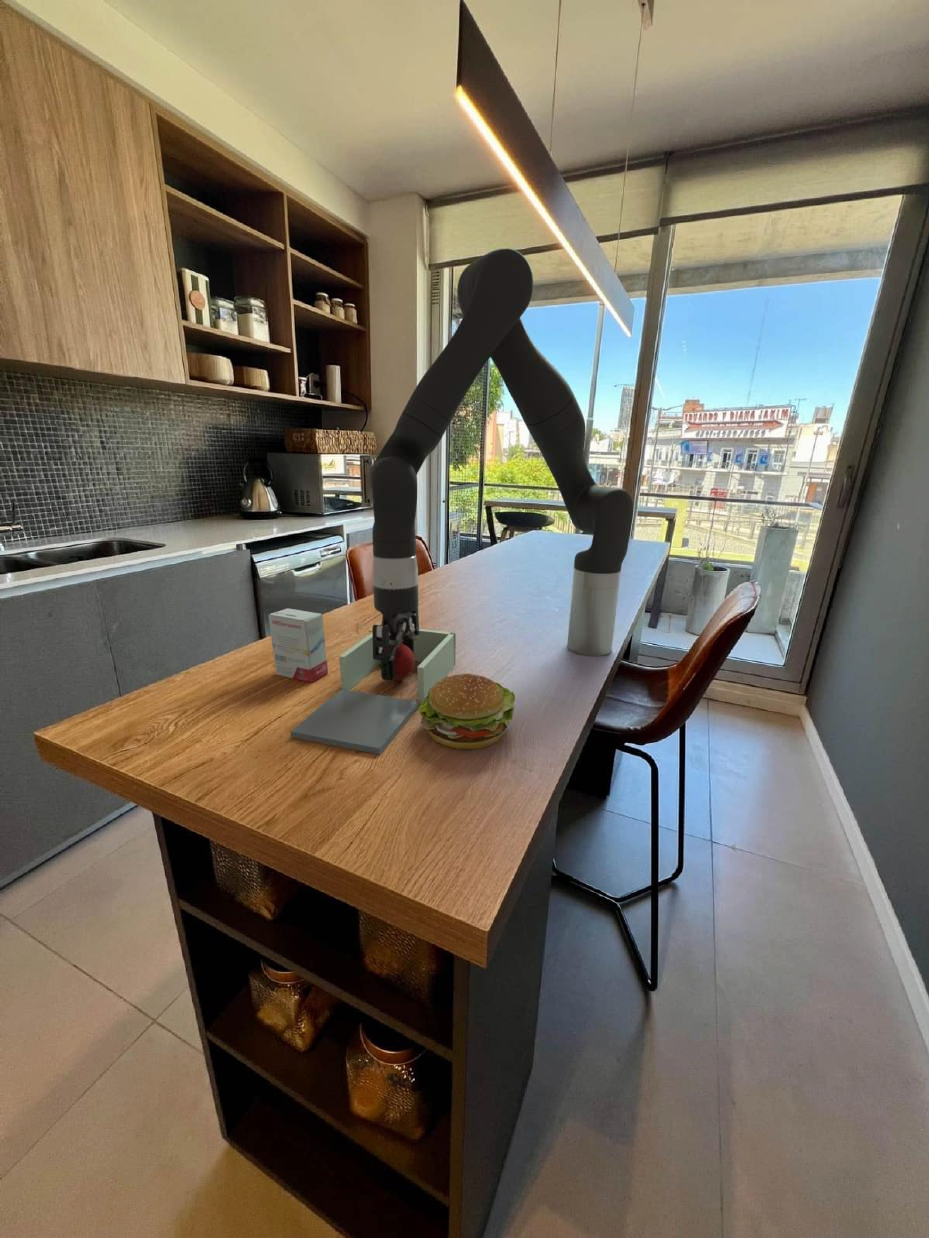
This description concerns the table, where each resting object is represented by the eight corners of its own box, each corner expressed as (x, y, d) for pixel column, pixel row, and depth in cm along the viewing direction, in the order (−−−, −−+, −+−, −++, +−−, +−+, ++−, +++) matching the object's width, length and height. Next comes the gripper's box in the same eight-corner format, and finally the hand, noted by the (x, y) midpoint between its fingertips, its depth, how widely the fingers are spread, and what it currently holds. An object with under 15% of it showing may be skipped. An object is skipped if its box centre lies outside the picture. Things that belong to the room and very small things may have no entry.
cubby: (384, 655, 99) (383, 624, 97) (455, 664, 95) (455, 633, 93) (341, 691, 83) (339, 656, 81) (423, 704, 79) (423, 667, 77)
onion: (409, 689, 85) (408, 646, 82) (377, 685, 86) (375, 643, 83) (418, 675, 90) (418, 634, 87) (389, 672, 91) (387, 632, 89)
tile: (341, 694, 82) (341, 689, 82) (418, 706, 79) (418, 701, 78) (290, 737, 70) (290, 731, 69) (380, 754, 66) (380, 748, 66)
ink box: (329, 673, 90) (324, 612, 87) (311, 684, 86) (305, 620, 82) (293, 665, 94) (287, 606, 90) (274, 674, 90) (267, 613, 86)
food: (487, 769, 63) (489, 715, 61) (402, 737, 70) (401, 687, 68) (531, 723, 74) (534, 675, 72) (454, 699, 81) (455, 655, 79)
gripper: (398, 594, 75) (401, 689, 80) (431, 574, 88) (432, 657, 93) (354, 589, 77) (360, 683, 82) (392, 571, 90) (395, 652, 95)
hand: (398, 669), depth 87 cm, fingers open, 8 cm apart
